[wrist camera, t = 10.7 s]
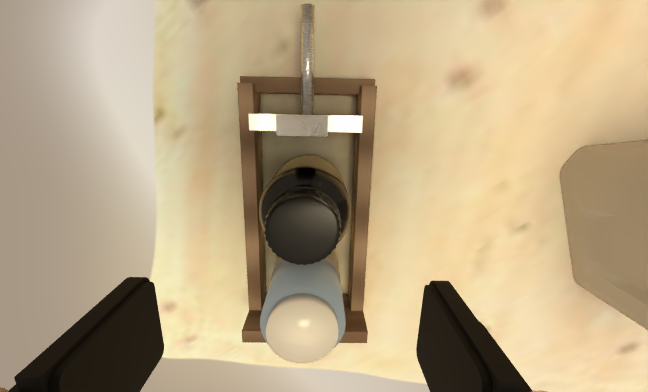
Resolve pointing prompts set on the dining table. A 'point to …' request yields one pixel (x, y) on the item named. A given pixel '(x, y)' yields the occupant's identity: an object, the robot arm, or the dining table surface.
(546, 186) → the dining table surface
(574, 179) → the grey corner cabinet
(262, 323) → the blue jar
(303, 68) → the pusher
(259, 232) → the brown wooden open box
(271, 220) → the supplement bottle
